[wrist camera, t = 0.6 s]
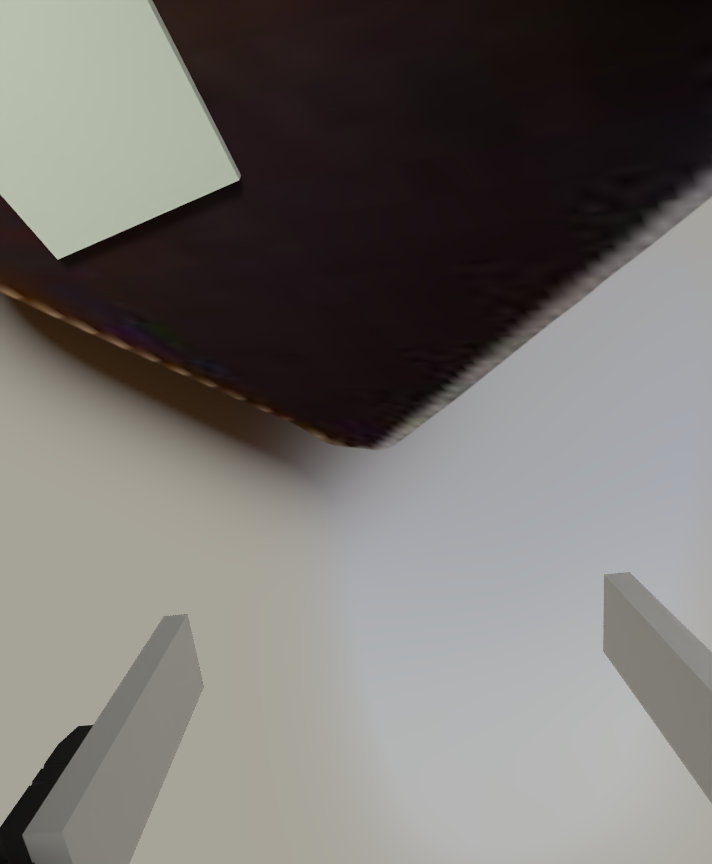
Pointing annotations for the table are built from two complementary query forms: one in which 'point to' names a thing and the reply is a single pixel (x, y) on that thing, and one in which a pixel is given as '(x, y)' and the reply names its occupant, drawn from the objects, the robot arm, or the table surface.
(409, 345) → the table surface
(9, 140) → the sage pad
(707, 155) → the table surface
